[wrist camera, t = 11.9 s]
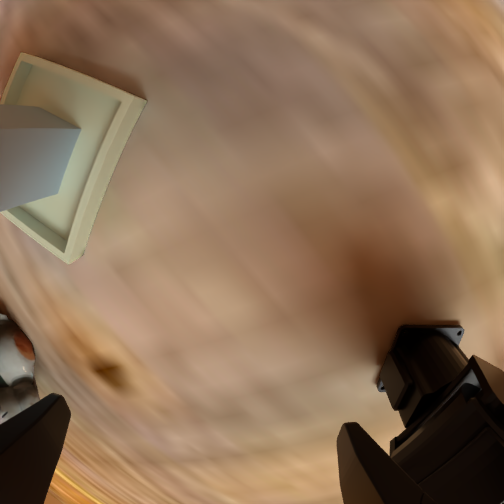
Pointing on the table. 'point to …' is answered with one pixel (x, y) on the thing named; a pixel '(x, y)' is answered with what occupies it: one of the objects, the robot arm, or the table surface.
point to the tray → (84, 153)
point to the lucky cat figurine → (15, 370)
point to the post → (32, 153)
